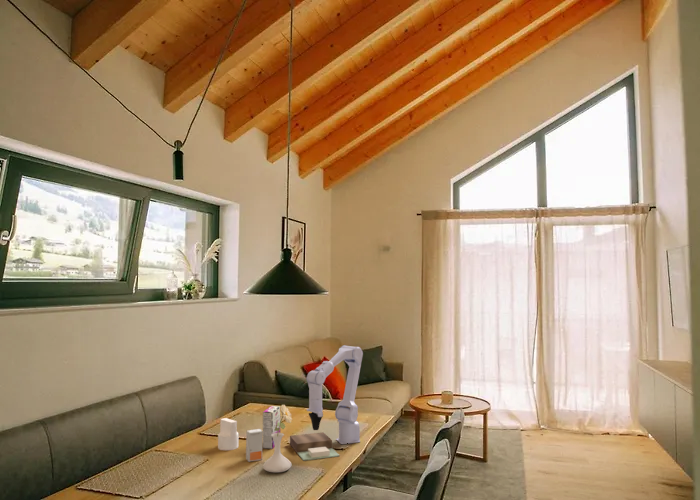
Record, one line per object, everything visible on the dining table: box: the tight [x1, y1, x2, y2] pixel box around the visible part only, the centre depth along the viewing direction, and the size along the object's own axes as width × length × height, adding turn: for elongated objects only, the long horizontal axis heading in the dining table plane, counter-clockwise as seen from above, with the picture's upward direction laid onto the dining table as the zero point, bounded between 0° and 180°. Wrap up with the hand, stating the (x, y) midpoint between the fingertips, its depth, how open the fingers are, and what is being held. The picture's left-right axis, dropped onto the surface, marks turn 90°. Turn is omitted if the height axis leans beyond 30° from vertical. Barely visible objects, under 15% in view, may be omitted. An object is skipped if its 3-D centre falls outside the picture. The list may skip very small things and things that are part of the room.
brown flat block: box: [289, 431, 333, 453], centre depth 240 cm, size 16×13×4 cm
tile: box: [308, 447, 330, 458], centre depth 228 cm, size 8×6×2 cm
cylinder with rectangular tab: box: [217, 417, 239, 451], centre depth 240 cm, size 9×9×12 cm
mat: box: [296, 447, 341, 462], centre depth 229 cm, size 16×10×1 cm, turn 110°
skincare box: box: [245, 428, 263, 463], centre depth 223 cm, size 6×4×12 cm
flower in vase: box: [262, 404, 293, 473], centre depth 212 cm, size 13×11×25 cm
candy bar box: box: [262, 405, 281, 450], centre depth 243 cm, size 11×5×16 cm, turn 168°
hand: (315, 429), depth 233 cm, fingers closed
